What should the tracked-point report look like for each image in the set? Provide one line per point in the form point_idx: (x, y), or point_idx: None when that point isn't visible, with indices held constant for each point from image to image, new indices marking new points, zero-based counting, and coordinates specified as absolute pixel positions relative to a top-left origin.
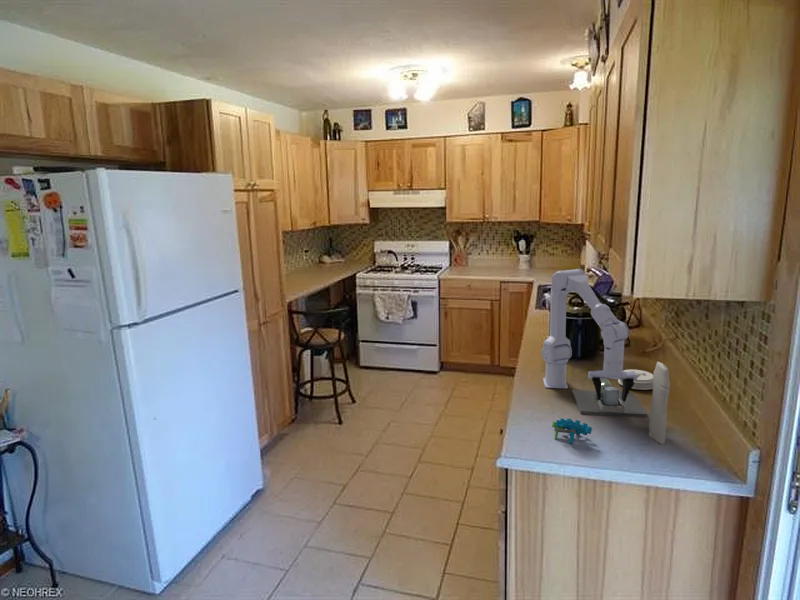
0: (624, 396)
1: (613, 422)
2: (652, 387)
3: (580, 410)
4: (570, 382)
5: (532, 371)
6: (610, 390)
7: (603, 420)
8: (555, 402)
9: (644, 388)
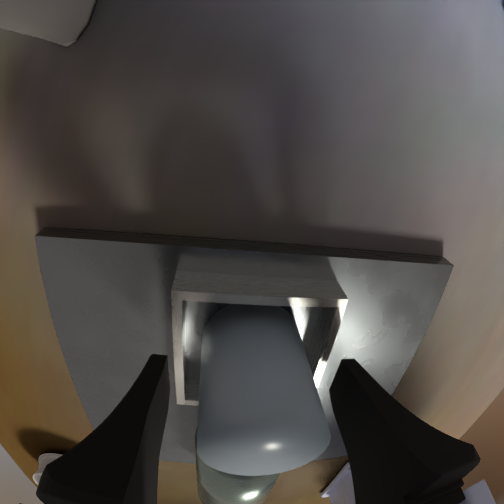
0: (154, 384)
1: (304, 122)
2: (44, 457)
3: (450, 271)
4: (310, 488)
5: None
6: (286, 435)
7: (362, 158)
8: (462, 359)
9: None
